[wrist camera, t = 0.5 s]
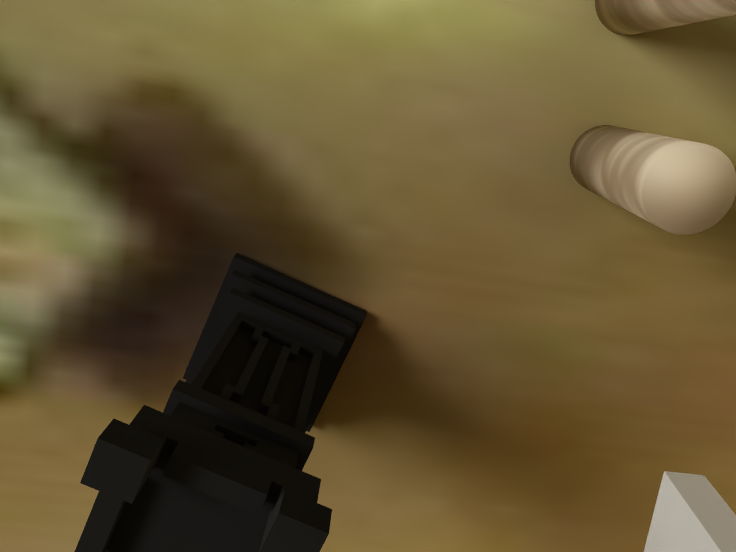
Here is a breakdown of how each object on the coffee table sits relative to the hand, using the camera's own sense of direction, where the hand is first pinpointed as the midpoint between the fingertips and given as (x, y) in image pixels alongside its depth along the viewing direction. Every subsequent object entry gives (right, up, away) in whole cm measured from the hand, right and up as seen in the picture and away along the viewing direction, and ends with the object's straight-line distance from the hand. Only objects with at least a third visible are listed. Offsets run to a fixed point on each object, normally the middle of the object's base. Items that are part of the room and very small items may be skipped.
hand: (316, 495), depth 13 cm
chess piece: (-4, 0, +27) cm, 27 cm away
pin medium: (+14, +10, +24) cm, 29 cm away
